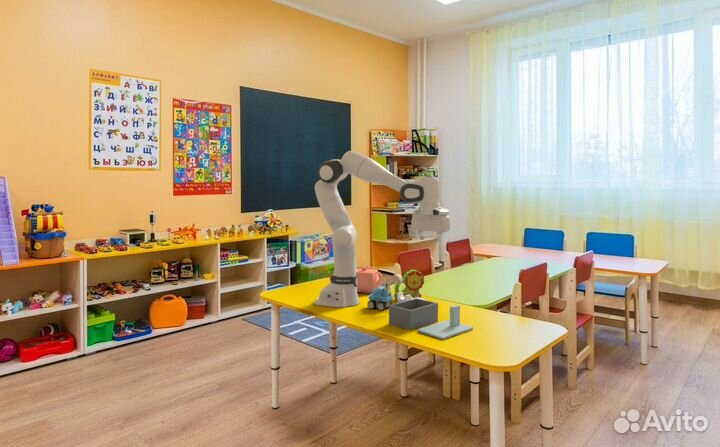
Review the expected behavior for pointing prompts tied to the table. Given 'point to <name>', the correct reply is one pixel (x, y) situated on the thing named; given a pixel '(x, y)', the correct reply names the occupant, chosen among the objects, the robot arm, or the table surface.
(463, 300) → the table surface
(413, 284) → the toy lion
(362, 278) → the teapot
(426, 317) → the tub
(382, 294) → the toy excavator
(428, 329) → the lid
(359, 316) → the table surface
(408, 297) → the bracket
